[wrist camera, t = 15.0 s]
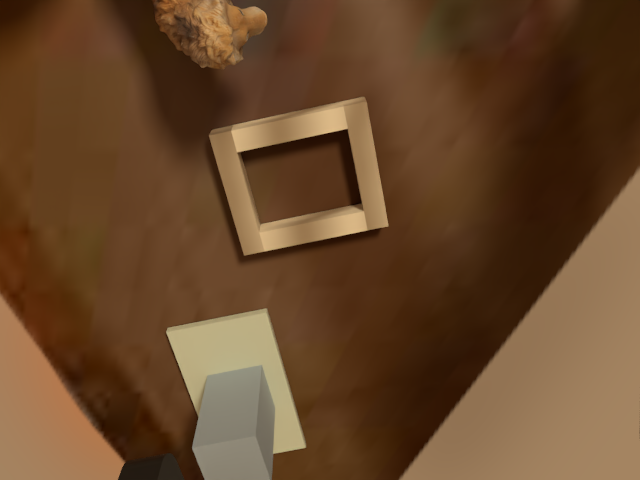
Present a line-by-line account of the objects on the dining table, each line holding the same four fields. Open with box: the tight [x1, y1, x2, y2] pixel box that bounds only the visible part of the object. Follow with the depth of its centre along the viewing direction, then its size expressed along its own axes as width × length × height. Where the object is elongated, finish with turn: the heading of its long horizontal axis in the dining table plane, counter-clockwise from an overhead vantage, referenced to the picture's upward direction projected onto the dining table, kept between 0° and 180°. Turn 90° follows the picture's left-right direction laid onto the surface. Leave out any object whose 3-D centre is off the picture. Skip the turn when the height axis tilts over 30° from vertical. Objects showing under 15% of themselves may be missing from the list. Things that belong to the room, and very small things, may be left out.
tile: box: [166, 308, 306, 454], centre depth 51 cm, size 8×14×1 cm, turn 12°
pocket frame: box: [209, 97, 388, 256], centre depth 43 cm, size 10×9×2 cm
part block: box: [192, 365, 275, 480], centre depth 47 cm, size 4×4×8 cm
